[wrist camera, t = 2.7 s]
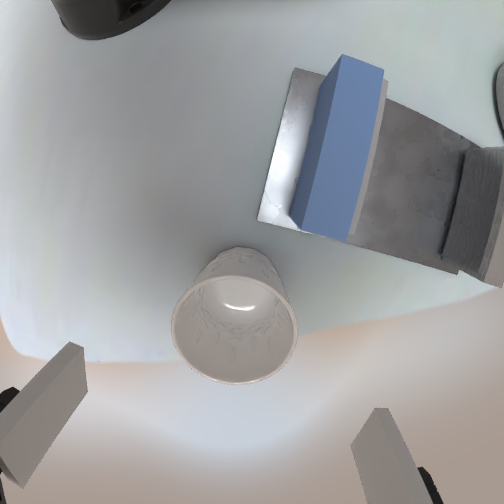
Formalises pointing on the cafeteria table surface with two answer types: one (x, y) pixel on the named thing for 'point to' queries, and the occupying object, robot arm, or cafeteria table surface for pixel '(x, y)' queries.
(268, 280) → the white cup
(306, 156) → the sliding jaw
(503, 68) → the planter
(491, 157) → the fixed jaw
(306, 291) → the cafeteria table surface
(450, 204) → the vise bed
